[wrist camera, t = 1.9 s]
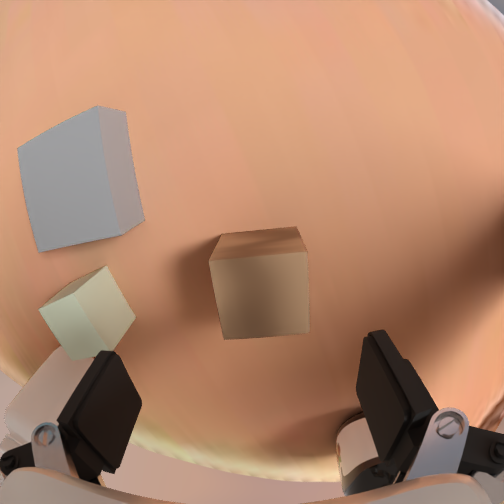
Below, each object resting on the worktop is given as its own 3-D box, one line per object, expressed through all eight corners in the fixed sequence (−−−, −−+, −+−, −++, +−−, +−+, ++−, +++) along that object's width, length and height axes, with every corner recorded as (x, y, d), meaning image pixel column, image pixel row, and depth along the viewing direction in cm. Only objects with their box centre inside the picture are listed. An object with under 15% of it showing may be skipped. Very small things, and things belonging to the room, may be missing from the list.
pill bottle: (108, 356, 23) (38, 474, 9) (117, 403, 26) (71, 503, 12) (49, 332, 23) (-28, 422, 9) (64, 380, 26) (10, 464, 12)
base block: (127, 112, 16) (97, 105, 12) (146, 219, 19) (121, 235, 15) (50, 145, 17) (17, 148, 13) (68, 236, 20) (38, 252, 16)
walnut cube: (296, 226, 18) (307, 251, 14) (300, 292, 20) (309, 333, 15) (222, 233, 19) (208, 260, 14) (232, 298, 20) (223, 339, 16)
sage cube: (107, 265, 20) (73, 293, 15) (136, 316, 22) (111, 353, 17) (70, 282, 21) (38, 309, 16) (98, 328, 22) (72, 360, 18)
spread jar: (343, 404, 24) (365, 500, 13) (432, 387, 24) (471, 462, 13) (326, 455, 28) (335, 527, 17) (401, 441, 28) (421, 504, 17)
